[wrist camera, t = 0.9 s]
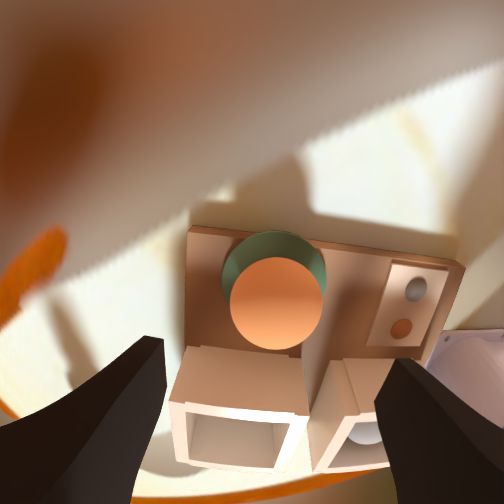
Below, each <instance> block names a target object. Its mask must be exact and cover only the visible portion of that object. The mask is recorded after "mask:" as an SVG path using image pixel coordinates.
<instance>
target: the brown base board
mask: <svg viewBox="0 0 504 504" xmlns="http://www.w3.org/2000/svg"><path fill="white" fill-rule="evenodd" d="M272 257H281V258H287V259H290V260H293V261H296V262H298V263H300V264H301V265H303V266H304V267H306V268H307V269H308V270H309V271H310V272H311V273H312V274H313V276H314V277H315V279H316V280H317V282H318V284H319V286H320V289H321V293H322V299H323V305H322V313H321V317H320V320H319V322H318V324H317V326H316V328H315V329H314V331H313V332H312V333H311V334H310V335H309V336H308V337H307V338H306V339H305V340H304V341H302V342H301V343H299V344H297V345H295V346H293V347H290V348H286V349H279V350H273V349H266V348H262V347H259V346H257V345H255V344H253V343H251V342H250V341H248V340H247V339H246V338H245V337H244V336H243V335H242V334H241V333H240V332H239V331H238V329H237V328H236V326H235V324H234V322H233V319H232V316H231V311H230V296H231V292H232V289H233V286H234V284H235V282H236V280H237V278H238V277H239V276H240V274H241V273H242V272H243V271H244V270H245V269H246V268H247V267H249V266H250V265H252V264H253V263H255V262H257V261H260V260H263V259H266V258H272ZM465 269H466V268H465V267H464V266H462V265H461V264H460V263H458V262H457V261H454V260H448V259H441V258H435V257H428V256H422V255H415V254H409V253H402V252H395V251H388V250H381V249H374V248H367V247H360V246H353V245H346V244H338V243H331V242H324V241H316V240H309V239H304V238H302V237H300V236H298V235H296V234H293V233H290V232H285V231H265V232H260V233H253V232H245V231H237V230H228V229H220V228H211V227H202V226H192V227H191V228H190V229H189V230H188V232H187V249H186V276H185V351H186V348H187V346H194V347H200V346H201V345H204V346H211V347H219V348H226V349H234V350H242V351H251V352H261V353H271V354H283V355H289V358H301V360H302V367H303V373H304V379H305V386H306V393H307V399H308V406H309V413H311V410H312V408H313V405H314V403H315V400H316V397H317V395H318V392H319V390H320V387H321V384H322V382H323V379H324V376H325V373H326V371H327V368H328V365H329V362H330V360H342V361H343V358H361V359H395V358H413V360H421V362H422V363H423V365H424V366H425V364H426V362H427V360H428V358H429V356H430V354H431V352H432V350H433V348H434V346H435V344H436V342H437V340H438V338H439V336H440V333H441V331H442V329H443V327H444V324H445V322H446V320H447V317H448V314H449V312H450V310H451V308H452V305H453V302H454V300H455V297H456V295H457V292H458V289H459V286H460V284H461V281H462V278H463V275H464V272H465Z"/></svg>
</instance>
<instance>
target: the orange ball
mask: <svg viewBox="0 0 504 504" xmlns="http://www.w3.org/2000/svg"><path fill="white" fill-rule="evenodd" d="M322 305H323V299H322V293H321V289H320V286H319V284H318V282H317V280H316V279H315V277H314V276H313V274H312V273H311V272H310V271H309V270H308V269H307V268H306V267H304V266H303V265H301V264H300V263H298V262H296V261H293V260H290V259H287V258H281V257H272V258H266V259H263V260H260V261H257V262H255V263H253V264H252V265H250V266H249V267H247V268H246V269H245V270H244V271H243V272H242V273H241V274H240V276H239V277H238V278H237V280H236V282H235V284H234V286H233V289H232V292H231V296H230V311H231V316H232V319H233V322H234V324H235V326H236V328H237V329H238V331H239V332H240V333H241V334H242V335H243V336H244V337H245V338H246V339H247V340H248V341H250V342H251V343H253V344H255V345H257V346H259V347H262V348H266V349H273V350H279V349H286V348H290V347H293V346H295V345H297V344H299V343H301V342H302V341H304V340H305V339H306V338H307V337H308V336H309V335H310V334H311V333H312V332H313V331H314V329H315V328H316V326H317V324H318V322H319V320H320V317H321V313H322Z"/></svg>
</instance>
